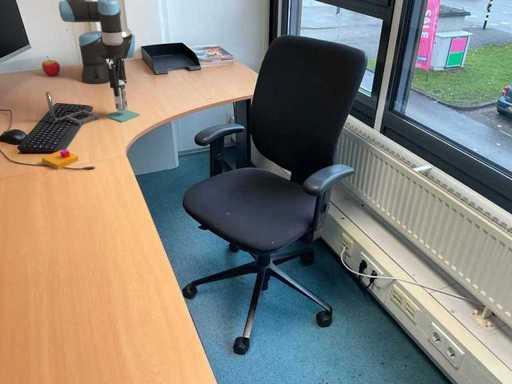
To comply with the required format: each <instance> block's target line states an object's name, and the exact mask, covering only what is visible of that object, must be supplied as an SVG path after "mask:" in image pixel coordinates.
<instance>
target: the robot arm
mask: <svg viewBox="0 0 512 384" xmlns="http://www.w3.org/2000/svg"><path fill="white" fill-rule="evenodd" d="M125 3H126V2H125V0H93V1H92V0H60V1H59V3H58V10H59V15H60V19H61V20H62V21H63V22H65V23H99V24H100V30H101V31H99V30H94V31H93V30H92V31H87V32H84V33H81V34H80V35H79V36H78V43H79V44H78V45H79V49H80V54H81V55H80V56H81V62H82V68H81V69H82V70H81V76H80V77H81V81H82V82H83V83H84V84H90V85H99V84H100V85H101V84H106V83H109V88H110V89H112V90H113V97H114V98H113V99H114V105H115V104H122V97H121V90H120V88H119V80H123V81H124V83H125V84H127V83H128V82H127V76H126V68H125V60H127V59H129V60H130V59H133V58H134V57H135V51H136V47H135V46H136V41H135V40H136V35H134V34H132V30H130V28H129V27H128V21H127V20H128V19H127V12H126V5H125ZM108 81H110V82H108Z"/></svg>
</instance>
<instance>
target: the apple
mask: <svg viewBox="0 0 512 384" xmlns="http://www.w3.org/2000/svg"><path fill="white" fill-rule="evenodd" d="M46 57H47V59H48V60H44V61H42V62H41V68H42V70H43V72H44V74H46V75H47V76H49V77H55V76H58V75H59V73H60V71H61V66H60V64H59V62H58V61H56V60H53V59H51V60H50V59H49V57H48V55H46Z"/></svg>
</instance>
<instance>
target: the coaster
mask: <svg viewBox="0 0 512 384" xmlns="http://www.w3.org/2000/svg"><path fill="white" fill-rule="evenodd" d="M139 116H140V117H141V114H140V113H138V112H134V111H132V110H129V109H126V110H124V111H118V110H115V111H113V112H111V113H107V114H105V115H104V117H105V118H108V119H111V120H113V121H117V122H120V123H124V122H127V121H129V120H132V119H134V118H137V117H139Z"/></svg>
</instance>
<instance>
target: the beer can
mask: <svg viewBox="0 0 512 384" xmlns="http://www.w3.org/2000/svg"><path fill="white" fill-rule="evenodd" d="M125 84H126V83H124V81H123V80H119V88H120V90H121V97H122V104H115V103H114V106H115V110H116V111H124V110H128V108H129V107H128V100H127V93H126V92H127V91H126V85H125Z"/></svg>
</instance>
